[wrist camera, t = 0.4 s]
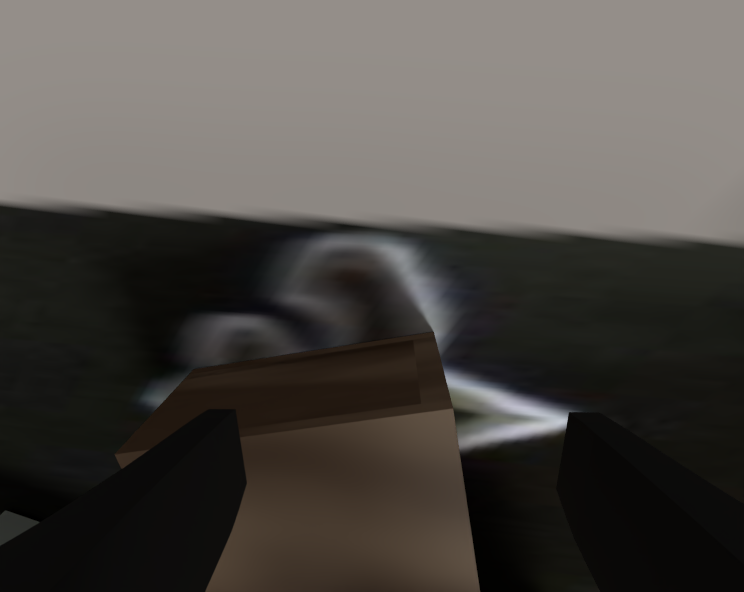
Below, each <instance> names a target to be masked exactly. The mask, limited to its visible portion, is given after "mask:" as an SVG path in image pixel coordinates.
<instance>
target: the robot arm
mask: <svg viewBox="0 0 744 592" xmlns="http://www.w3.org/2000/svg"><path fill="white" fill-rule="evenodd" d="M246 485H247V480H246V473H245V467H244V460H243V454H242V447H241V441H240V434H239V428H238V422H237V415H236V409H208V410H206V411H205V412H203V413H201V414H200V415H198V416H197V417H195V418H194V419H192V420H191V421H189V422H188V423H186V424H185V425H184V426H182V427H181V428H179V429H178V430H177V431H175V432H174V433H172V434H171V435H169V436H168V437H167V438H165V439H164V440H162V441H161V442H160V443H158V444H157V445H155V446H154V447H153V448H151V449H150V450H148V451H147V452H145V453H144V454H143V455H141V456H140V457H138V458H137V459H135V460H134V461H133V462H131V463H130V464H128V465H127V466H125V467H124V468H123V469H121V470H120V471H118V472H117V473H115V474H114V475H112V476H111V477H109V478H108V479H106V480H105V481H103V482H102V483H100V484H98V485H97V486H95V487H94V488H92V489H91V490H89V491H88V492H86V493H85V494H83V495H82V496H80V497H79V498H77V499H76V500H74V501H72V502H71V503H69V504H68V505H66V506H65V507H63V508H62V509H60V510H59V511H57V512H56V513H54V514H52V515H51V516H49V517H48V518H46V519H44V520H43V521H41V522H39V523H38V524H36V525H34V526H33V527H31V528H29V529H28V530H26V531H24V532H23V533H21V534H19V535H18V536H16V537H14V538H13V539H11V540H9V541H7V542H6V543H4V544H2V545H0V592H205V591H206V589H207V586H208V584H209V582H210V580H211V577H212V575H213V573H214V571H215V569H216V566H217V564H218V562H219V559H220V557H221V555H222V553H223V550H224V548H225V546H226V544H227V541H228V539H229V537H230V534H231V532H232V529H233V526H234V523H235V520H236V517H237V514H238V511H239V508H240V505H241V501H242V498H243V495H244V491H245V488H246ZM556 489H557V492H558V495H559V498H560V501H561V504H562V507H563V509H564V512H565V515H566V518H567V521H568V523H569V526H570V528H571V531H572V534H573V536H574V539H575V541H576V543H577V545H578V547H579V549H580V551H581V553H582V556H583V558H584V560H585V562H586V564H587V566H588V568H589V570H590V572H591V574H592V576H593V578H594V580H595V582H596V584H597V586H598V588H599V590H600V592H744V504H743V503H741V502H740V501H738V500H736V499H735V498H733V497H731V496H730V495H728V494H727V493H725V492H723V491H722V490H720V489H719V488H717V487H715V486H714V485H712V484H711V483H709V482H707V481H706V480H704V479H703V478H701V477H700V476H698V475H696V474H695V473H693V472H692V471H690V470H689V469H687V468H685V467H684V466H682V465H681V464H679V463H678V462H676V461H675V460H673V459H672V458H670V457H668V456H667V455H665V454H664V453H662V452H661V451H659V450H658V449H656V448H655V447H653V446H652V445H650V444H649V443H647V442H645V441H644V440H642V439H641V438H639V437H638V436H636V435H635V434H633V433H632V432H630V431H628V430H627V429H625V428H624V427H622V426H621V425H619V424H617V423H616V422H614V421H612V420H611V419H609V418H607V417H606V416H604V415H602V414H600V413H583V412H569V416H568V422H567V428H566V434H565V440H564V446H563V452H562V458H561V464H560V470H559V475H558V481H557V487H556Z"/></svg>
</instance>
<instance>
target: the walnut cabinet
mask: <svg viewBox="0 0 744 592" xmlns="http://www.w3.org/2000/svg"><path fill="white" fill-rule="evenodd" d="M208 409H236V415H237V422H238V428H239V434H240V441H241V447H242V454H243V460H244V467H245V473H246V480H247V485H246V488H245V491H244V495H243V498H242V501H241V505H240V508H239V511H238V514H237V517H236V520H235V523H234V526H233V529H232V532H231V534H230V537H229V539H228V541H227V544H226V546H225V548H224V550H223V553H222V555H221V557H220V559H219V562H218V564H217V566H216V569H215V571H214V573H213V575H212V577H211V580H210V582H209V584H208V586H207V589H206V591H205V592H480V588H479V581H478V574H477V567H476V560H475V554H474V547H473V540H472V533H471V527H470V520H469V513H468V506H467V500H466V493H465V486H464V479H463V472H462V466H461V459H460V452H459V445H458V439H457V432H456V425H455V418H454V412H453V406H452V402H451V398H450V394H449V390H448V387H447V383H446V379H445V375H444V371H443V367H442V363H441V359H440V355H439V351H438V347H437V343H436V339H435V335H434V332H429V333H423V334H416V335H410V336H403V337H397V338H391V339H384V340H378V341H371V342H365V343H359V344H352V345H346V346H339V347H333V348H326V349H320V350H314V351H307V352H301V353H294V354H288V355H282V356H275V357H269V358H262V359H256V360H250V361H243V362H237V363H230V364H224V365H217V366H211V367H205V368H198V369H193V371H192V372H191V373H190V374H189V375H188V376H187V377H186V378H185V379H184V380H183V381H182V382H181V383H180V385H179V386H178V387H177V388H176V389H175V390H174V391H173V392H172V393H171V394H170V395H169V396H168V397H167V399H166V400H165V401H164V402H163V403H162V404H161V405H160V406H159V407H158V408H157V409H156V410H155V411H154V413H153V414H152V415H151V416H150V417H149V418H148V419H147V420H146V421H145V422H144V423H143V424H142V425H141V427H140V428H139V429H138V430H137V431H136V432H135V433H134V434H133V435H132V436H131V437H130V438H129V439H128V441H127V442H126V443H125V444H124V445H123V446H122V447H121V448H120V449H119V450H118V451H117V452H116V453H115V456H116V458H117V460H118V462H119V464H120V466H121V468H122V469H123V468H124V467H125V466H127V465H128V464H130V463H131V462H133V461H134V460H135V459H137V458H138V457H140V456H141V455H143V454H144V453H145V452H147V451H148V450H150V449H151V448H153V447H154V446H155V445H157V444H158V443H160V442H161V441H162V440H164V439H165V438H167V437H168V436H169V435H171V434H172V433H174V432H175V431H177V430H178V429H179V428H181V427H182V426H184V425H185V424H186V423H188V422H189V421H191V420H192V419H194V418H195V417H197V416H198V415H200V414H201V413H203V412H205V411H206V410H208Z"/></svg>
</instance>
